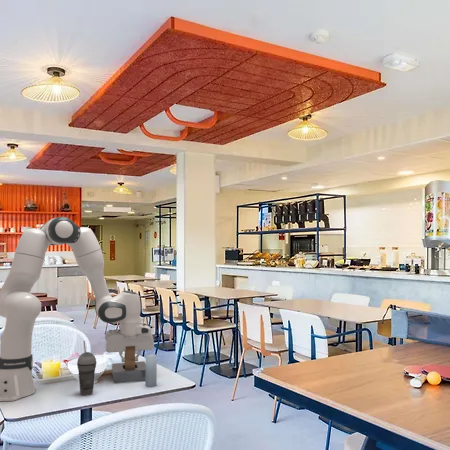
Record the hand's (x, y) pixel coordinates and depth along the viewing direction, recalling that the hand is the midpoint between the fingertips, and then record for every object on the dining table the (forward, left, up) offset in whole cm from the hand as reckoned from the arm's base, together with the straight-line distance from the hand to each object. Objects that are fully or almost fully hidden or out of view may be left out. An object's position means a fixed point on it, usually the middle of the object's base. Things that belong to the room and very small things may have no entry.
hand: (129, 361), depth 205 cm
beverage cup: (-18, -17, -7) cm, 26 cm away
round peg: (+7, -14, -7) cm, 17 cm away
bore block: (0, 0, -7) cm, 7 cm away
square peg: (0, 0, -5) cm, 5 cm away
